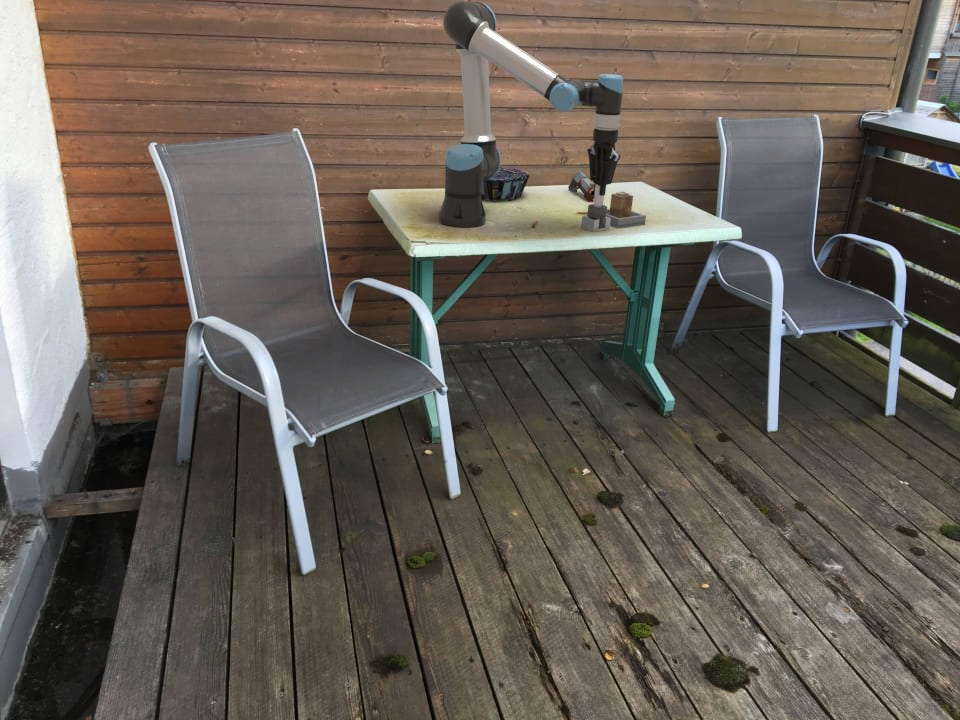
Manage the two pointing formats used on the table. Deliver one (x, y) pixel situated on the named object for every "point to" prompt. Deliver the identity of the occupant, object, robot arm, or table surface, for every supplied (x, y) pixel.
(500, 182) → the decorative bowl
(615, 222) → the chassis bay
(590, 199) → the toy gun
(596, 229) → the axle mount
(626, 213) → the walnut block
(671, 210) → the table surface
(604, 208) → the wheel
